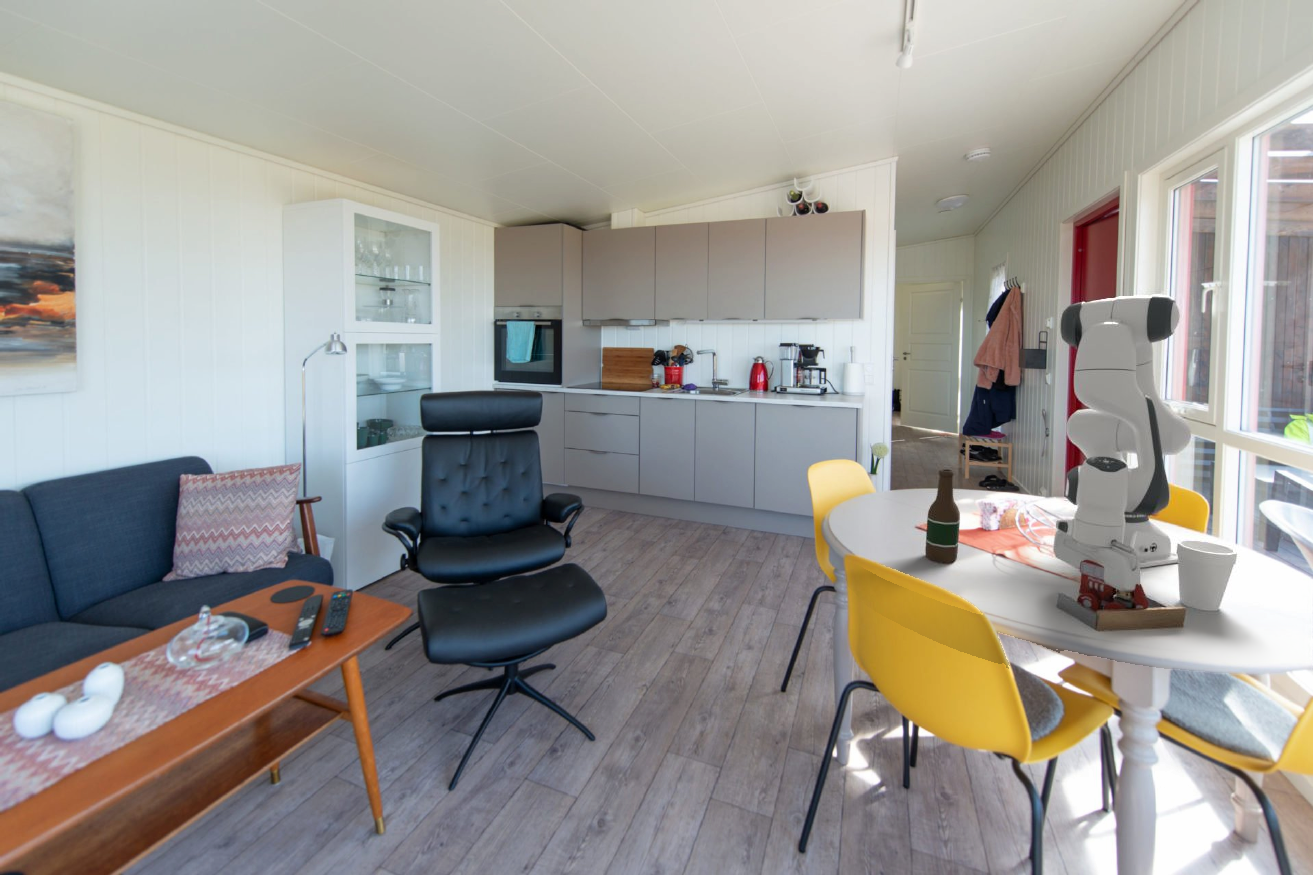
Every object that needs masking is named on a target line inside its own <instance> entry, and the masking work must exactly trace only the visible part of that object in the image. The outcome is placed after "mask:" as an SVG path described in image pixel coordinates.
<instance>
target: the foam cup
mask: <svg viewBox="0 0 1313 875" xmlns="http://www.w3.org/2000/svg"><path fill="white" fill-rule="evenodd" d="M1175 554H1177V555H1178V562H1177V568H1178V569H1177V571H1178V572H1177V573H1178V590H1179V591H1178V592H1179V602H1180V603H1181V604H1183V605H1185V606H1187V607H1189V608H1193V609H1196V610H1202V611H1209V612H1215V611H1218V610H1219V608H1220V607H1221V603H1222V601H1223V598H1224V595H1225V592H1226V589H1227V586H1228V583H1229V580H1230V577H1231V575H1232V572H1233V568H1234V566H1235V565H1236V563H1237V557H1238V550H1236V549H1235V548H1234V547H1232V546H1231V547H1230V546H1227V545H1225V544H1221V543H1216V542H1213V541H1207V540H1197V539H1183V540H1178V542H1177V545H1176V553H1175Z"/></svg>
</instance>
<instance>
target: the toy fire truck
mask: <svg viewBox="0 0 1313 875" xmlns="http://www.w3.org/2000/svg"><path fill="white" fill-rule="evenodd" d="M1104 569H1105V568H1104V567H1103V566H1102V565H1100V564H1098V563H1096V562H1093V561H1090V560H1083V561H1081V563H1080V570H1079V572H1080V573H1081V576H1080V580H1079V581H1080V582H1079V583H1080V584H1079V590H1078V595H1077V599H1076V601H1077V602H1079V603H1081V604H1083V605H1085V606H1086V607H1088V608H1090V609H1092V610H1094V611H1096V612H1097V610H1101V609H1102V610H1113V609H1136V608H1148V600H1147V598H1146V595H1147V594H1146V593H1145V591H1144V587H1143V585H1142V584H1141V583H1140V585H1138V584H1136V585H1135V590H1133V591H1131V592H1121V591H1119V590H1117V589H1115V588H1113V587H1111V586H1110V585H1108V584H1106V583H1105V581H1104ZM1145 594H1146V595H1145ZM1133 598H1134V599H1133Z"/></svg>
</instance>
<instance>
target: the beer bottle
mask: <svg viewBox="0 0 1313 875" xmlns="http://www.w3.org/2000/svg"><path fill="white" fill-rule="evenodd" d="M938 475H939V478H938V485H937V490H936V491H937V492H936V497H935V500H934V501H933V502H932V504H930V506H929V509H928V511H927V518H926V534H925V536H926V537H925V550H924V551H925V558H926V559H928V560H929V561H931V562H935V563H939V564H953V563H955V562H956V560H957V559H958V552H959V550H958V549H959V538H960V537H959V536H960V523H961V515H960V514H961V513H960V509H959V507H958V505H957V504H956V502H955V500H954V476H955V471H954V470H951V469H947V468H944V469H943V468H942V469H940V470H939V471H938Z"/></svg>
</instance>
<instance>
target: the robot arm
mask: <svg viewBox="0 0 1313 875" xmlns="http://www.w3.org/2000/svg"><path fill="white" fill-rule="evenodd" d="M1061 314H1062V315H1061V317H1060V320H1059V326H1058V328H1059V332H1060V335H1061V339H1062V340H1063V341H1064V342H1065V343H1066V344H1067V345H1069V346H1072V347H1073V348H1074V349H1076V350H1077V352H1076V358H1075V361H1074V362H1075V364H1074V373H1073V389H1074V394H1075V396H1076V399H1078V401H1079V402H1081V403H1082V404H1083V405H1085V406H1086V407H1087V408H1085V409H1077V410H1076V411H1075V412H1074V413H1072V414H1071V415H1070V416H1069V418H1068V420H1067V422H1066V426H1065V430H1066V435H1067V438H1068V439H1069V441H1070V442H1071V443H1072V444H1073V445H1075V446H1076V447H1077V448H1078V449H1079V450H1080V451H1081V452H1082V453H1083V455H1084V456H1085V460H1084V461H1083V464H1082V465H1077V466H1075V467H1073V468H1071V469H1070V470H1069V471H1068V472H1066V473H1065V475H1066V478H1065V480H1066V481H1065V482H1066V483H1065V489H1064V494H1063V496H1064V497H1065V499H1067V500H1068V501H1069V502H1070V503H1071V504H1072V505H1074V506H1077V508H1076V511H1075V513H1074V517H1073V518H1071V519H1067V518H1066V519H1057V520H1056V522H1055V528H1056V532H1055V533H1054V540H1053V553H1054V554H1053V555H1054V556H1055V558H1056V559H1058V560H1060V561H1062V562H1064V563H1066V564H1067V565H1070V566H1072V567H1074V568H1075V569H1078V570H1079V571H1080V563H1081V561H1083V560H1090V561H1093V562H1096V563H1098V564H1100V565H1102V566H1103V567H1104V568H1105V569H1104V581H1105V583H1106V584H1108V585H1110V586H1111V587H1113V588H1115V589H1116V591H1117V590H1119V591H1121V592H1131V591H1133V590H1135V585H1136V584H1138V585H1140V584H1141V568H1147V567H1148V568H1149V567H1154V566H1155V567H1156V566H1162V565H1169V564H1178V554H1177V553H1175V552H1173V551H1172V542H1171V538H1170V537H1169V535H1168V534H1167V533H1166V532H1164V531H1163V530H1162V529H1161V528H1159V527H1158V526H1156V525H1155V524H1154V523H1153V522H1151V521H1150V516H1151V517H1158V515H1159V514H1160V512H1161V511H1163V510H1165V509H1166V508H1167V507H1168V506H1169V503H1170V500H1171V489H1170V486H1169V482H1168V477H1167V473H1166V469H1165V463H1164V456H1175V455H1178V454H1180V453H1181V452H1182V451H1184V450H1185V449H1186V447H1187V446H1188V445H1189V443H1190V441H1191V437H1192V431H1191V427H1190V424H1189V423H1188V421H1187V420H1186V419H1185V418H1184V417H1183V416H1181V415H1179V414H1177V413H1175V412H1174V411H1173V410H1171V408H1169V407H1168V405H1166V404H1165V403H1164V402H1163V401H1162V399H1161V398H1160V396H1159V394H1158V392H1157V390H1156V385H1155V379H1154V377H1155V376H1154V350H1153V343H1157V342H1161V341H1164V340H1167V339H1168V338H1170V337H1171V336H1173V334H1174V333H1175V330H1176V329H1177V327H1178V325H1179V323H1180V318H1181V317H1180V316H1181V315H1180V314H1181V313H1180V309H1179V307H1178V305H1177V302H1176V300H1175V299H1174V298H1173V297H1171V296H1170V295H1165V294H1152V295H1150V296H1149V295H1133V296H1132V295H1131V296H1129V295H1128V296H1127V295H1126V296H1116V297H1114V298H1113V297H1112V298H1104V299H1098V300H1091V301H1088V302H1085V301H1081V302H1076V303H1074V304H1070V305H1068V306H1067V307H1066V308H1065V309H1064V310H1063V311H1062V313H1061ZM1123 453H1127V454H1128V453H1129V454H1136V460H1137V467H1134V466H1132V465H1130V464H1129V463H1127V462H1126V461H1125V459H1124V457H1123Z"/></svg>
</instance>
